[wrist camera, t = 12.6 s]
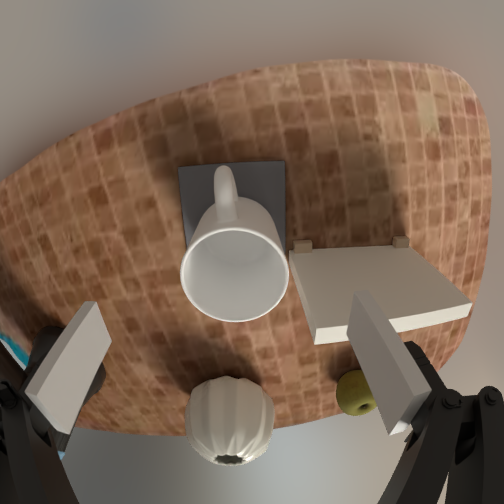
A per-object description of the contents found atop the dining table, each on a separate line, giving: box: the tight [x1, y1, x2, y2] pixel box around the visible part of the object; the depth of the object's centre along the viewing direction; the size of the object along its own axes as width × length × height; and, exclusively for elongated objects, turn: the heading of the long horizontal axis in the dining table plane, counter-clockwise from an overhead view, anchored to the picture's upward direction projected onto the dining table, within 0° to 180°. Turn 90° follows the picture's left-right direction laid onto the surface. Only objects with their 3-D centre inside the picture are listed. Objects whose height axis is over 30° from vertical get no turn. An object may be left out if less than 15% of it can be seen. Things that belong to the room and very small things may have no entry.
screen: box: [289, 236, 472, 345], centre depth 26 cm, size 16×4×14 cm, turn 92°
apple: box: [336, 370, 377, 416], centre depth 39 cm, size 8×8×7 cm
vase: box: [185, 376, 274, 466], centre depth 36 cm, size 14×14×13 cm
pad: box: [178, 161, 285, 254], centre depth 30 cm, size 11×11×1 cm
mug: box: [180, 165, 289, 322], centre depth 25 cm, size 12×8×10 cm
